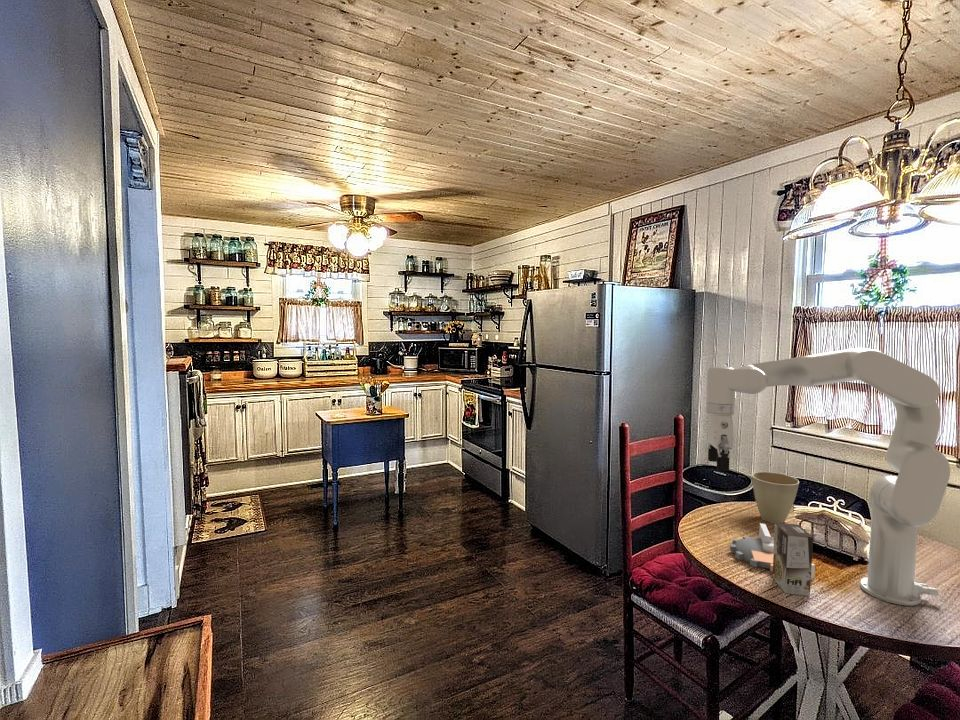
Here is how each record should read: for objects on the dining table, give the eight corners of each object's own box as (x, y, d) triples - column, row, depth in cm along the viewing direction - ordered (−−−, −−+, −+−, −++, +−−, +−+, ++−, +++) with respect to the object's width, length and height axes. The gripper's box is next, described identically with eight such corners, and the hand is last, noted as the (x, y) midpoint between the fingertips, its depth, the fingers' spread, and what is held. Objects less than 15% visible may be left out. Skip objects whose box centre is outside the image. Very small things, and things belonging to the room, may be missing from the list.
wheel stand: (802, 557, 151) (803, 544, 151) (815, 581, 137) (816, 567, 137) (747, 548, 157) (748, 536, 157) (754, 570, 143) (755, 557, 143)
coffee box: (811, 596, 129) (814, 537, 128) (784, 593, 131) (787, 535, 130) (796, 579, 138) (799, 523, 137) (771, 576, 140) (774, 521, 138)
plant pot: (747, 521, 178) (749, 479, 177) (752, 509, 191) (754, 469, 189) (796, 531, 170) (798, 487, 169) (797, 518, 182) (800, 476, 181)
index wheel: (798, 545, 158) (799, 528, 157) (817, 578, 137) (818, 559, 136) (726, 534, 165) (727, 518, 165) (734, 564, 145) (734, 546, 144)
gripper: (743, 414, 134) (741, 475, 135) (725, 404, 151) (723, 458, 152) (713, 413, 135) (711, 473, 137) (699, 403, 152) (698, 457, 153)
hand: (718, 465), depth 144 cm, fingers open, 9 cm apart
